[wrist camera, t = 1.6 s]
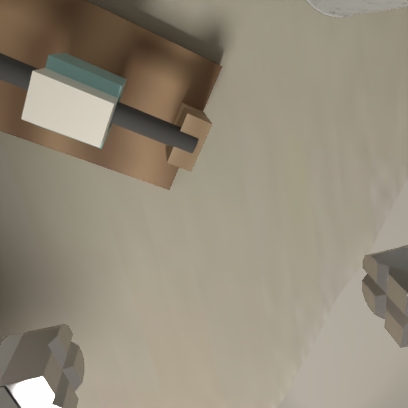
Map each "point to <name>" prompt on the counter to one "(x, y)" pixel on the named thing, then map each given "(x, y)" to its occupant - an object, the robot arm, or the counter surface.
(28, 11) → the rod slider board
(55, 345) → the robot arm
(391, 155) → the counter surface
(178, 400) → the counter surface
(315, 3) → the grey upright cylinder
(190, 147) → the rail
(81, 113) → the sleeve
